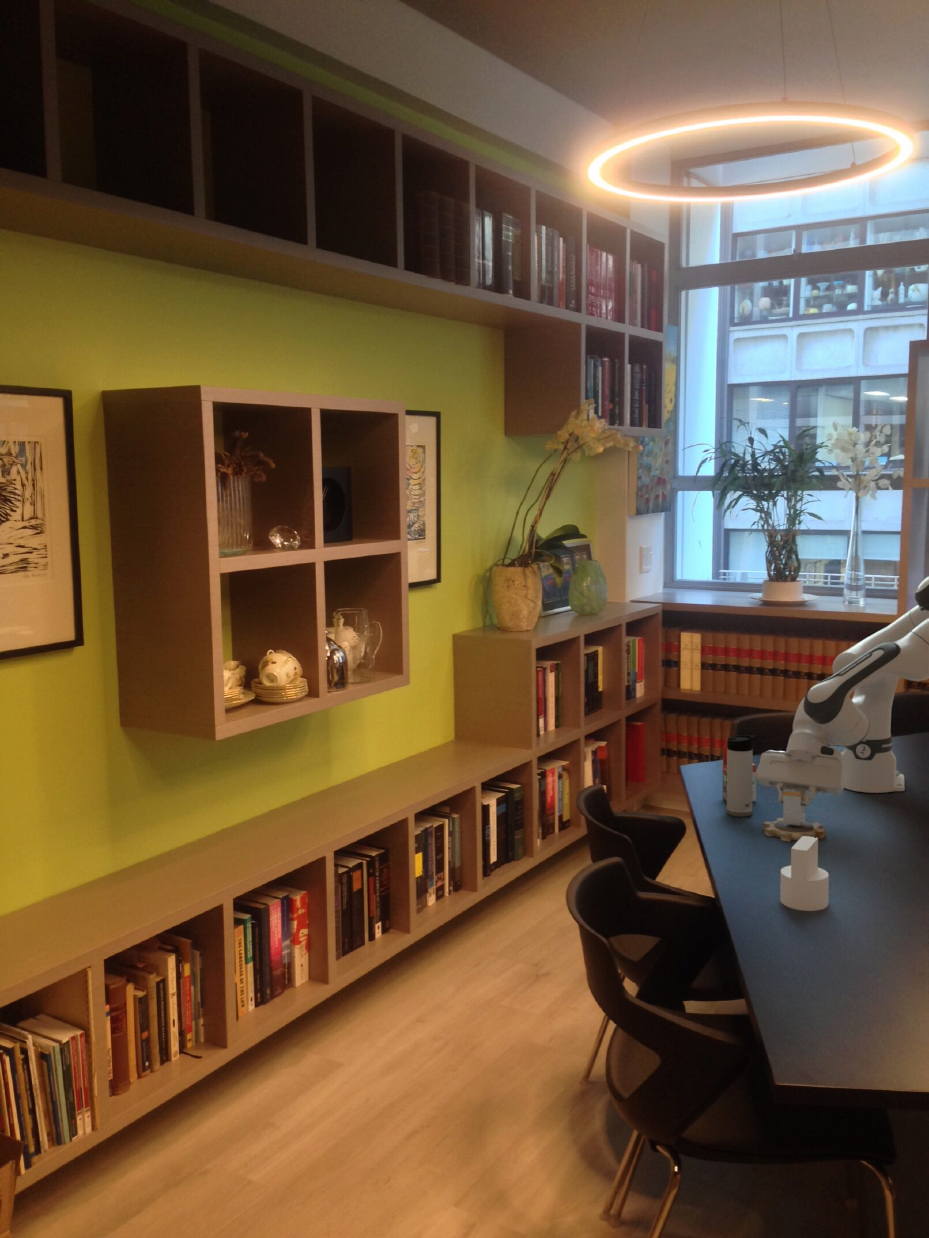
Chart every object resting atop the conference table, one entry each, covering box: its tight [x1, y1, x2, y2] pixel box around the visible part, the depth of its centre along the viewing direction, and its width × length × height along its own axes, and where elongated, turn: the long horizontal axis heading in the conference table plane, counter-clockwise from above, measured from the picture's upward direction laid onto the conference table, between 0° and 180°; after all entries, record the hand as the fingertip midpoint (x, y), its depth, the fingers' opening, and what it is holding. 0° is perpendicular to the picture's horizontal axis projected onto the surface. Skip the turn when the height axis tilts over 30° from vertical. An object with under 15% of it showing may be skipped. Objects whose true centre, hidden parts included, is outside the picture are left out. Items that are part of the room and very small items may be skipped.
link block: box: [782, 786, 807, 826], centre depth 250 cm, size 4×4×8 cm
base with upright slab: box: [779, 836, 830, 912], centre depth 208 cm, size 9×9×12 cm
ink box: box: [722, 745, 757, 803], centre depth 278 cm, size 4×8×15 cm, turn 98°
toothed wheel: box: [762, 817, 826, 843], centre depth 251 cm, size 14×14×2 cm
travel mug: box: [726, 734, 755, 818], centre depth 266 cm, size 6×7×20 cm
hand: (793, 803), depth 249 cm, fingers closed on link block, 4 cm apart
